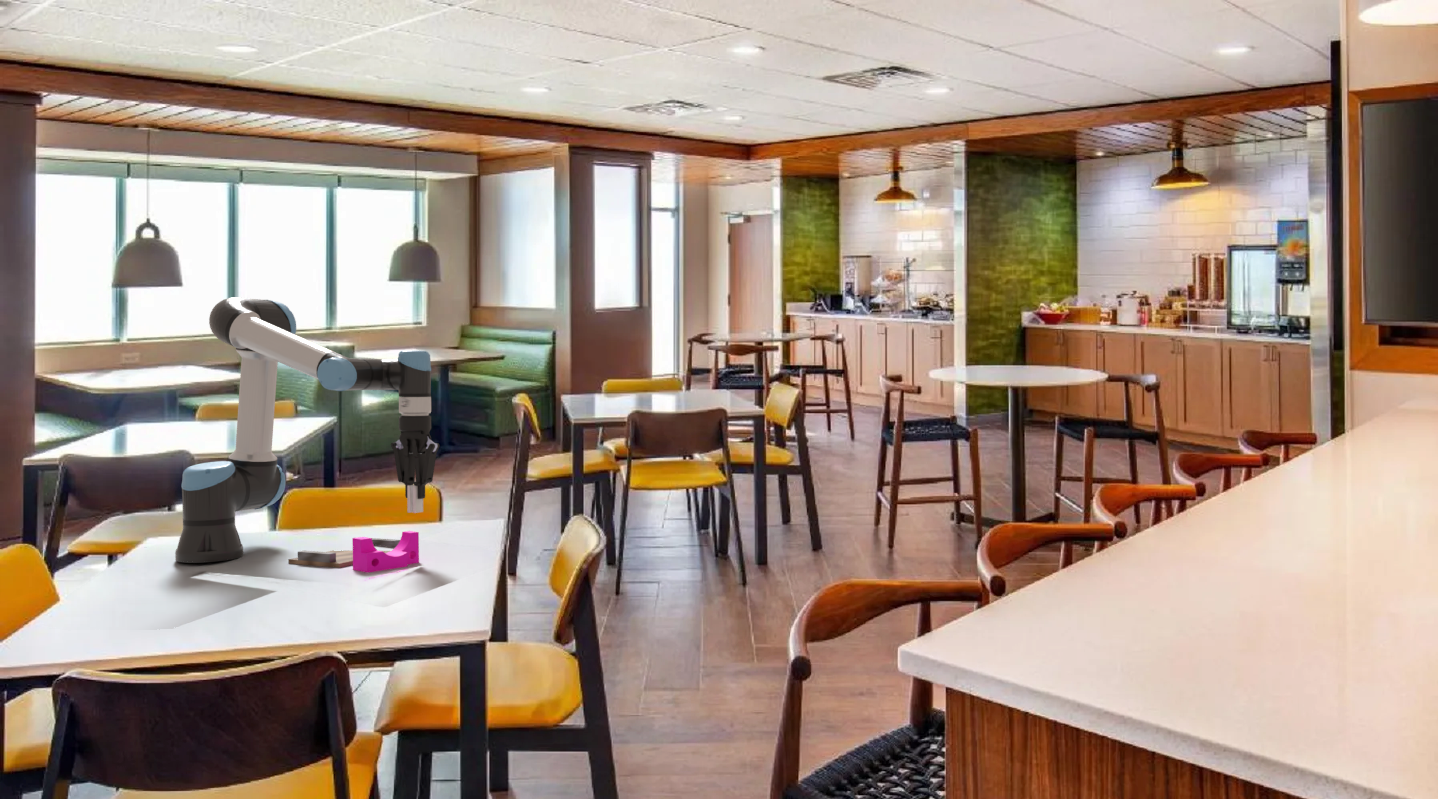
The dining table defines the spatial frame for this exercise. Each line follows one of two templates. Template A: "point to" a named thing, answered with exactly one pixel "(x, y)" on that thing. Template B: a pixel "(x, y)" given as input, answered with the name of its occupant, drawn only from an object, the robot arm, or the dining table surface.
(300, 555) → the wooden serving tray
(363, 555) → the toy block
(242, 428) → the robot arm
